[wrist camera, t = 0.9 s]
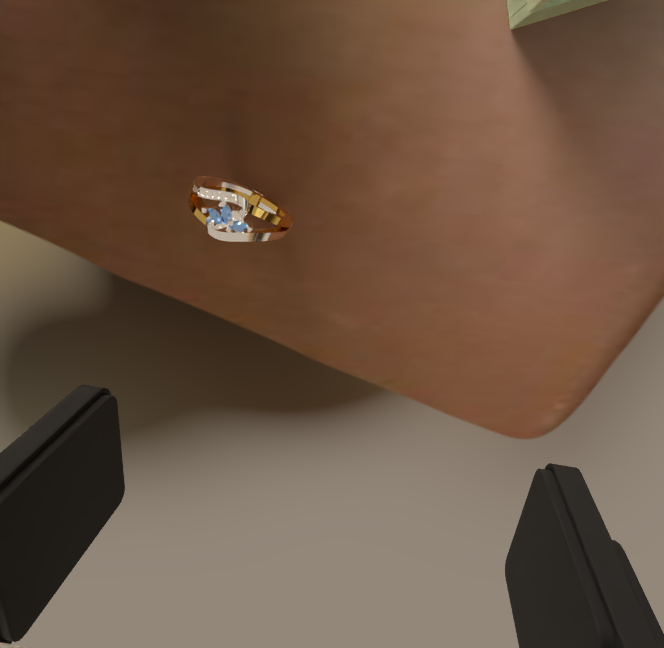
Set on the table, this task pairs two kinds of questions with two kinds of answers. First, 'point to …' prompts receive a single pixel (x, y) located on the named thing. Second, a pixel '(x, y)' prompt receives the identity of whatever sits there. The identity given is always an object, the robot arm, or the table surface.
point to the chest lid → (536, 4)
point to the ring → (236, 211)
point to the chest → (542, 10)
